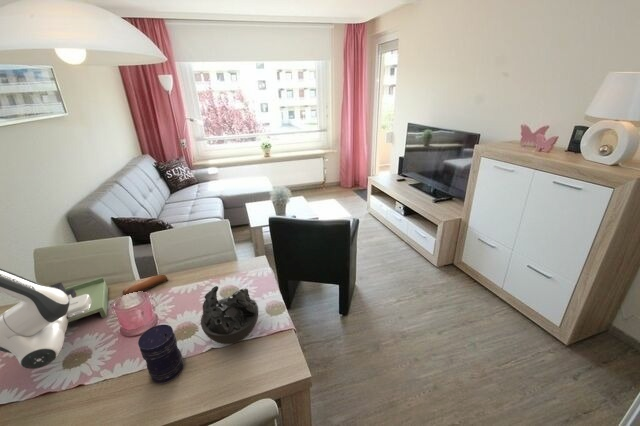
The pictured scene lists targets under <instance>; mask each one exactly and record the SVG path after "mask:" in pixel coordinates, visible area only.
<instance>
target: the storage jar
mask: <svg viewBox="0 0 640 426" xmlns="http://www.w3.org/2000/svg"><path fill="white" fill-rule="evenodd" d="M137 345H138V347H139V351H140V355H141V356H142V358H143V360H144V361H145V363H146V369H147V372H148V374H149V375H150V377H151V380H152V381H153V382H154V383H155V384H161V385H162V384H165V383H166V384H167V383H169V382H171V381H173V380H175V378H177V377H178V376H179V375H180V374H181V373H182V371H183V369H184V365H185V363H184V360H183V355H182V352H181V349H180V348H179V347H178V340H177V337H176V334H175V332H174V329H173V327H172V326H171V325H169V324H157V325H154V326H152V327H150V328H148V329H146V330H145V331H144V332H143V333H142V334H141V335H140V336H139V338H138V341H137Z"/></svg>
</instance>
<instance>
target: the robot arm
mask: <svg viewBox="0 0 640 426" xmlns="http://www.w3.org/2000/svg"><path fill="white" fill-rule="evenodd" d="M0 294H2V295H6V296H8V297H11V298H14V299H16V300H19V302H18V303H16V304H15V305H13V306H12V307H9V308H8V309H7V310H6V311H4V312H2V313H0V352H3V353H8V354H12V355H14V356H15V358H16V359H17V362H18V364H19V365H20V367H22V368H24V369H27V370H35V369H40V368H44V367H45V366H48V365H49V364H51V363H52V362H54V361H55V360H56V359H57V358H58V357H59V354H61V351H62V349H63V346H64V342H65V337H66V336H65V335H66V332H67V329H68V324H69V322H68V320H69V319H71V318H74V317H77V316H80V315H83V314H85V313H86V312H87V311H89V310H90V306H91V303H92V301H91V298H90V296H89V295H88V294H84V295H81V296H78V297H75V298H72V296H71V295H67V294H66V293H65V292H63V291H62V290H60V289H58V288H55V287H51V286H50V285H46V284H42V283H39V282H37V281H35V280H31V279H29V278H27V277H24V276H22V275H19V274H17V273H14V272H12V271H9V270H7V269H4V268H2V267H0Z"/></svg>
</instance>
